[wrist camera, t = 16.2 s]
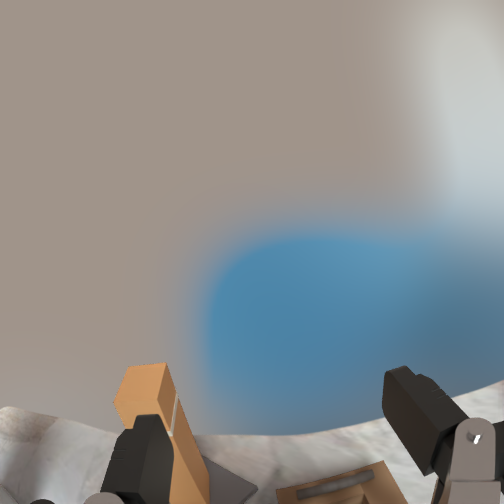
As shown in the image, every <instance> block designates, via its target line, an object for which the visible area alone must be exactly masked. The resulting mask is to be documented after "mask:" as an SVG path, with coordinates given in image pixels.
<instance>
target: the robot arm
mask: <svg viewBox="0 0 504 504" xmlns="http://www.w3.org/2000/svg"><path fill="white" fill-rule="evenodd" d="M382 409H383V413H384V416H385V418H386V419H387V421H388V422H389V424H390V425H391V427H392V428H393V430H394V431H395V433H396V434H397V436H398V437H399V439H400V440H401V442H402V443H403V445H404V446H405V448H406V449H407V451H408V452H409V454H410V455H411V457H412V459H413V460H414V462H415V463H416V465H417V466H418V468H419V469H420V471H421V472H422V474H423V475H424V477H425V476H427V475H429V474H431V473H433V472H435V473H436V474H437V475H438V478H437V480H436V484H435V489H434V493H433V497H432V501H431V504H499V503H500V492H502V493H503V495H504V421H502V422H498V423H494V424H491V423H490V422H489V421H487V420H485V419H482V418H469V417H468V416H467V415H466V414H465V413H464V412H463V411H462V410H461V409H460V407H459V406H458V405H457V404H456V403H455V402H454V401H453V400H452V399H451V398H450V397H449V396H448V395H447V396H446V393H445V392H444V391H443V390H442V389H440V387H439V386H438V385H437V384H436V383H435V382H434V381H433V380H432V379H430V378H428V377H426V376H424V375H422V374H418V375H415V374H414V373H413V372H412V371H411V370H410V369H409V368H408V367H407V366H401V367H399V368H395V369H392V370H389V371H387V372H386V373H385V376H384V386H383V398H382ZM173 463H174V449H173V445H172V442H171V440H170V438H169V435H168V433H167V431H166V428H165V426H164V424H163V421H162V419H161V417H160V415H159V414H145V415H137V416H136V419H135V422H134V425H133V428H132V429H125V430H124V431H123V433H122V434H121V435H120V436H119V437H118V438H117V441H116V444H115V447H114V451H113V453H112V456H111V460H110V462H109V465H108V468H107V471H106V474H105V478H104V481H103V484H102V487H101V490H100V493H97V494H94V495H92V496H90V497H89V498H88V499H87V500H86V501H85V502H84V504H169V498H170V489H171V480H172V471H173ZM0 504H19V503H18V502H17V501H15V500H14V498H13V497H12V496H11V495H10V494H9V493H8V492H7V491H6V490H5V488H4V487H3V486H2V485H1V484H0ZM30 504H54V503H53V502H52V501H50V500H46V499H40V500H36V501H34V502H32V503H30Z"/></svg>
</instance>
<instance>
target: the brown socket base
mask: <svg viewBox="0 0 504 504" xmlns="http://www.w3.org/2000/svg"><path fill="white" fill-rule="evenodd" d="M276 493H277V498H278V503H279V504H408V503H407V501H406V499H405V498H404V496H403V494H402V492H401V491H400V489H399V487H398V485H397V483H396V482H395V480H394V478H393V476H392V475H391V473H390V471H389V469H388V468H387V466H386V464H385V462H384V461H380V462H377V463H374V464H371V465H369V466H366V467H363V468H360V469H357V470H353V471H350V472H347V473H344V474H340V475H337V476H333V477H330V478H326V479H322V480H318V481H314V482H310V483H306V484H302V485H297V486H292V487H288V488H283V489H277V490H276Z"/></svg>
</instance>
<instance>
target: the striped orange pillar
mask: <svg viewBox="0 0 504 504" xmlns="http://www.w3.org/2000/svg"><path fill="white" fill-rule="evenodd" d="M113 403H114V405H115V407H116V409H117V412H118V413H119V416H120V418H121V420H122V421H123V424H124V426H125V428H126V429H132V428H133V425H134V422H135V419H136V416H137V415H145V414H159V415H160V417H161V419H162V421H163V424H164V426H165V428H166V431H167V433H168V435H169V438H170V440H171V442H172V445H173V449H174V463H173V471H172V480H171V489H170V498H169V502H170V503H171V504H210V493H209V473H208V471H207V468H206V466H205V464H204V461H203V459H202V457H201V454H200V452H199V450H198V447H197V445H196V442H195V440H194V437H193V435H192V432H191V430H190V428H189V425H188V422H187V420H186V417H185V414H184V412H183V409H182V406H181V404H180V401H179V398H178V393H177V392H176V390H175V387H174V384H173V381H172V378H171V375H170V372H169V369H168V366H167V363H158V364H149V365H139V366H130V367H128V369H127V372H126V374H125V376H124V378H123V381H122V383H121V385H120V388H119V390H118V392H117V395H116V397H115V400H114V402H113Z"/></svg>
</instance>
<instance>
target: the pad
mask: <svg viewBox="0 0 504 504" xmlns="http://www.w3.org/2000/svg"><path fill="white" fill-rule="evenodd" d="M201 457H202V459H203V461H204V464H205V466H206V468H207V471H208V473H209V493H210V504H243V503H244V502H245V501H246V500H247V499H249V498H250V497H251V496H252V495H253V494H254V493H255V492H256V491H257V490H258V488H257V486H255V485H254V484H252V483H250V482H248V481H246V480H244V479H242V478H240V477H238V476H237V475H235V474H233V473H231V472H229V471H228V470H226V469H224V468H222V467H221V466H219V465H217V464H215V463H214V462H212V461H210V460H209V459H207V458H205V457H204V456H202V455H201ZM169 504H171V503H170V502H169Z"/></svg>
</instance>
